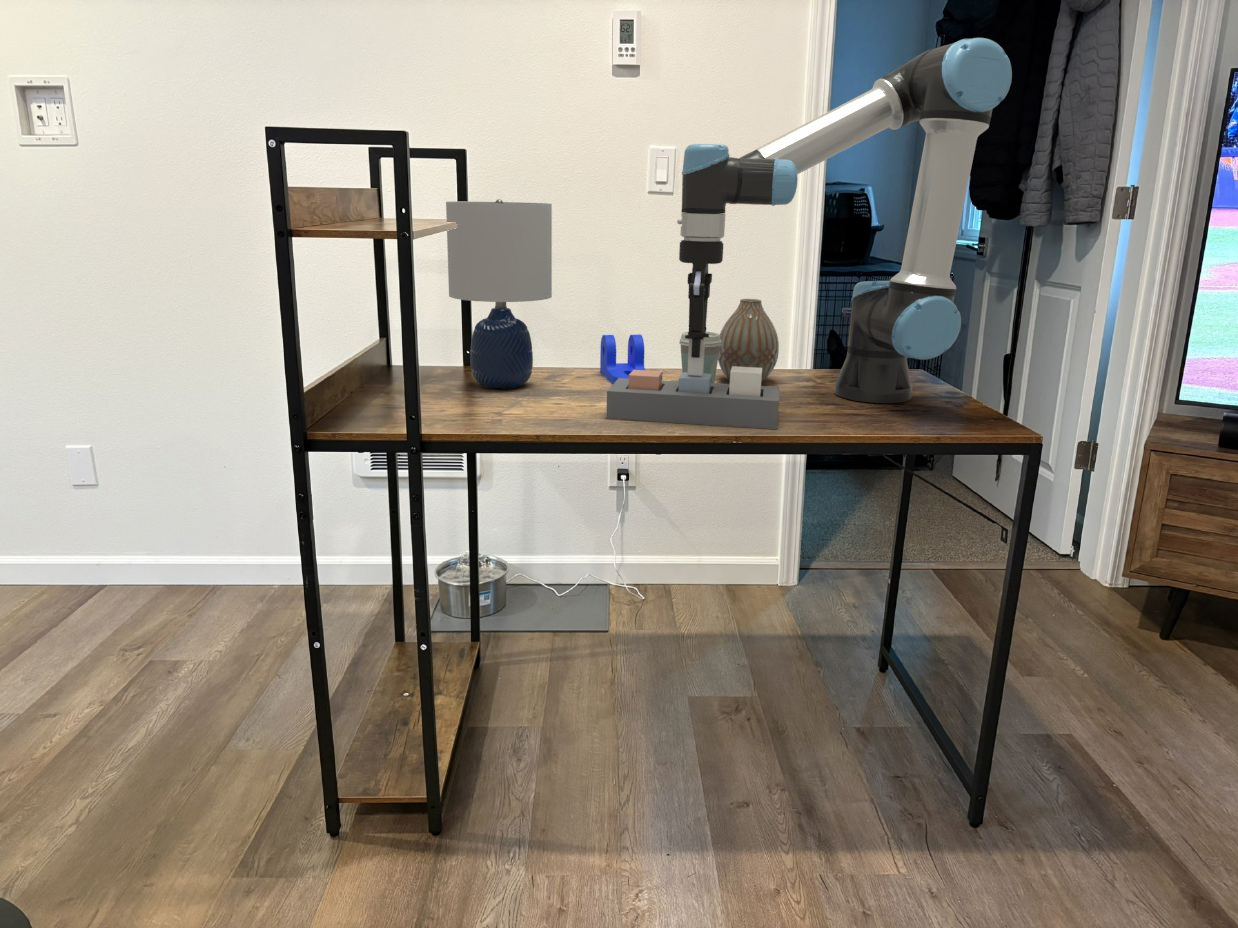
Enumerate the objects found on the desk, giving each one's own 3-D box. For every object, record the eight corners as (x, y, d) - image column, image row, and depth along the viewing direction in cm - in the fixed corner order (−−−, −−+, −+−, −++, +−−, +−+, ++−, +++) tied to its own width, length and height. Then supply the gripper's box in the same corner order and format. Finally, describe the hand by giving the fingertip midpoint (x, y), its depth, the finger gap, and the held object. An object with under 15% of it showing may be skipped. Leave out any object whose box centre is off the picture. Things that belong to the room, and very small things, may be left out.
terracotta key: (661, 394, 167) (662, 371, 166) (657, 401, 162) (658, 376, 161) (632, 393, 168) (633, 369, 167) (628, 399, 163) (628, 375, 162)
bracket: (600, 372, 203) (600, 332, 200) (636, 372, 205) (637, 332, 202) (617, 389, 186) (618, 346, 183) (656, 388, 188) (657, 345, 185)
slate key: (710, 397, 166) (711, 373, 165) (708, 404, 161) (709, 379, 160) (681, 395, 167) (682, 372, 166) (677, 402, 162) (678, 377, 161)
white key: (760, 391, 164) (762, 367, 163) (759, 398, 159) (761, 373, 158) (730, 390, 165) (732, 366, 164) (728, 396, 160) (730, 371, 159)
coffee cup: (717, 398, 179) (720, 338, 176) (674, 396, 181) (676, 336, 177) (721, 390, 187) (724, 332, 184) (680, 387, 189) (682, 329, 185)
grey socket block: (777, 413, 168) (779, 387, 167) (776, 429, 157) (778, 401, 155) (618, 403, 173) (618, 378, 171) (606, 418, 162) (606, 391, 160)
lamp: (503, 401, 173) (500, 200, 162) (431, 386, 184) (423, 197, 174) (571, 385, 188) (572, 201, 178) (501, 372, 200) (498, 198, 189)
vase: (774, 376, 202) (780, 297, 197) (778, 388, 190) (784, 304, 185) (715, 374, 203) (719, 295, 198) (715, 386, 191) (719, 302, 186)
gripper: (684, 237, 163) (678, 367, 169) (675, 240, 150) (670, 380, 157) (726, 238, 161) (718, 369, 168) (721, 242, 149) (713, 382, 156)
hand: (695, 374), depth 163 cm, fingers closed
